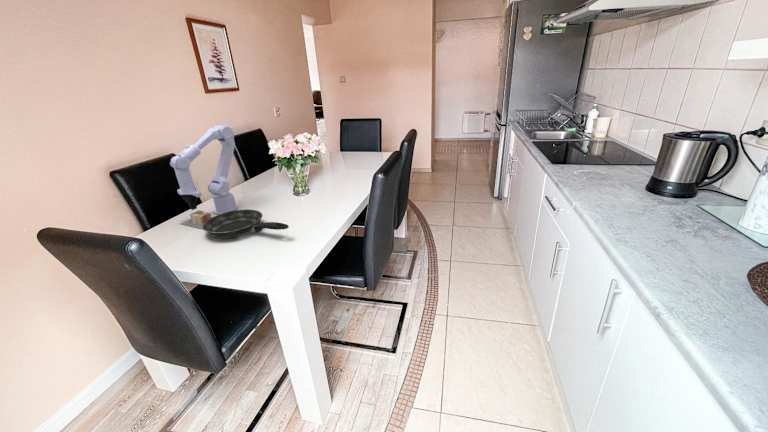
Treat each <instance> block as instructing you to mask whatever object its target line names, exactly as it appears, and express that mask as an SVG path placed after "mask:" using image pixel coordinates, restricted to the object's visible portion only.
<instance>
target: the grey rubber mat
mask: <svg viewBox="0 0 768 432" xmlns="http://www.w3.org/2000/svg"><path fill="white" fill-rule="evenodd" d="M179 224H180V225H183V226H187V227H192V228H195V229H198V230H203V228H202V226H203V225H199V224H195V223H192V220H191V218H190V219H187V220H185V221H182V222H181V223H179Z"/></svg>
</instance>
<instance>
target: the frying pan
mask: <svg viewBox="0 0 768 432" xmlns="http://www.w3.org/2000/svg"><path fill="white" fill-rule="evenodd" d="M263 215H264V214H263V213H262V211H259V210H256V209H235V210H233V211H230V212H226V213H222V214H216V215H214V216H211V217H212V218H210V219H209V220H207V221H206V222H205V223H204V224H203V226H202V228H203V229H202V230H203V231H205V232H206V233H208V234H209V235H210V236H213V237H214V238H215V237H216V238H219V239H229V238H236V237H238V236H239V237H240V236H244V235H246V234H248V233H259V232H261V231H262V230H263V229H268V230H287V229H289V225H288V224H286V223H283V222H277V221H276V222H275V221H267V222H265V221H264V222H261V221H262V218H263V217H264V216H263Z"/></svg>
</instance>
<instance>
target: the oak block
mask: <svg viewBox="0 0 768 432" xmlns="http://www.w3.org/2000/svg"><path fill="white" fill-rule="evenodd" d="M189 217H190V219H191V220H192V223H195V224H199V225H203V224H204V223H205V222H206V221H207V220H209V219H210V218H212V217H213V216H212V214H211V212H208V211H204V210H198V211H195V212H192V213H190V214H189Z"/></svg>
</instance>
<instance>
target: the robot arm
mask: <svg viewBox="0 0 768 432" xmlns="http://www.w3.org/2000/svg"><path fill="white" fill-rule="evenodd" d="M216 140H217V141H218V142H219V143H220V145H221V147H222V148H221V150H220V155H219V160H218V163H217V168H216V171H215V175H214V176H213V177H211V180H210V182H209V184H208V185H207V190H208V192H209V193H210V194H211V197H212V199H213V204H214V208H215V210H214V211H212V213H214V214H216V215H219V214H222V213H226V212H230V211H235V210H239V209H238V207H237V204H236V199H235V197H234V195H233V193H231V192H230V181H229V180H228V176H229V171H230V167H231V163H232V160H233V155H234V152H235V148H236V147H235V146H236V143H235V132H234V130H233V128H232V127H230V126H228V125H219V124H214V125H212V126H211V127H210V128H208V129H207V131H206V132H205V133H204V134H203V135H202V136H201V137H200V138H199V139H198V140H197V141H196V142H195V143H194V144H189V145H188V144H187V145H186V146H185V145H184V146H185V148H184V149H183V150H182V151H181V152H178V153H177V155H176V156H172V157H171V159H170V162H169V165H170V167H171V168H173V169H174V173H175V177H176V179H177V182H178V185H179V189H177V190H176V192H177V194H178V195H179V196H181V199H182V200H184V202H185V203H186V204H187V205H188V207H189V209H190V210H192V211H194V210H196V209H197V208H198V207H197V205H198V204H197V202H198V198H199V197H202V193H201V191H198V189H196V187H195V184H194V181H193V178H192V173H191V171H190V166H191V163H193V161H195V159H196V158H198V157H199V156H200V155H201V153H202V152H201V150H203V149H204V148H205V147H206V146H207V145H209V144H210V143H211V142H212V141H216Z"/></svg>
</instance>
